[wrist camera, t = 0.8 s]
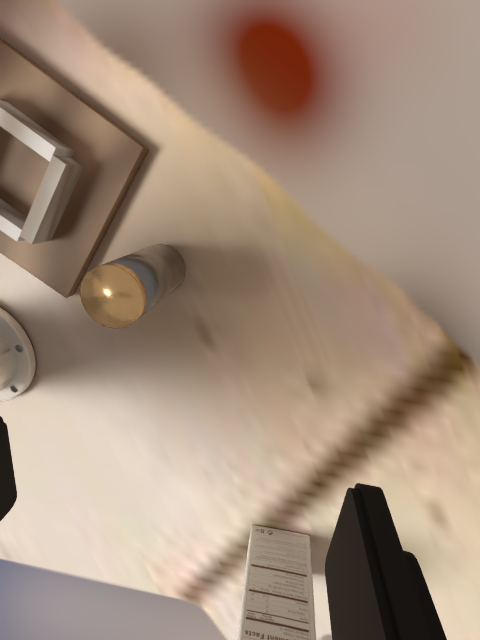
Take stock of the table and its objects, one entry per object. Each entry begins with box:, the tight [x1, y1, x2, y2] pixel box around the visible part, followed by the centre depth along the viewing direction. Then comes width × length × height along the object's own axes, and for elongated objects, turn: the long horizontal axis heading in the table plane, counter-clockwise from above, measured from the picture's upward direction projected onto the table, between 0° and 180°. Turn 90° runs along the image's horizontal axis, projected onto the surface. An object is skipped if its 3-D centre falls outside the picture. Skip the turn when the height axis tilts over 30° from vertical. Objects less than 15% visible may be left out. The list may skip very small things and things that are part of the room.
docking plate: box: [0, 38, 148, 298], centre depth 29 cm, size 16×16×4 cm
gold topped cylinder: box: [80, 244, 185, 328], centre depth 28 cm, size 4×4×10 cm
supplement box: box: [238, 525, 316, 640], centre depth 37 cm, size 7×7×13 cm
